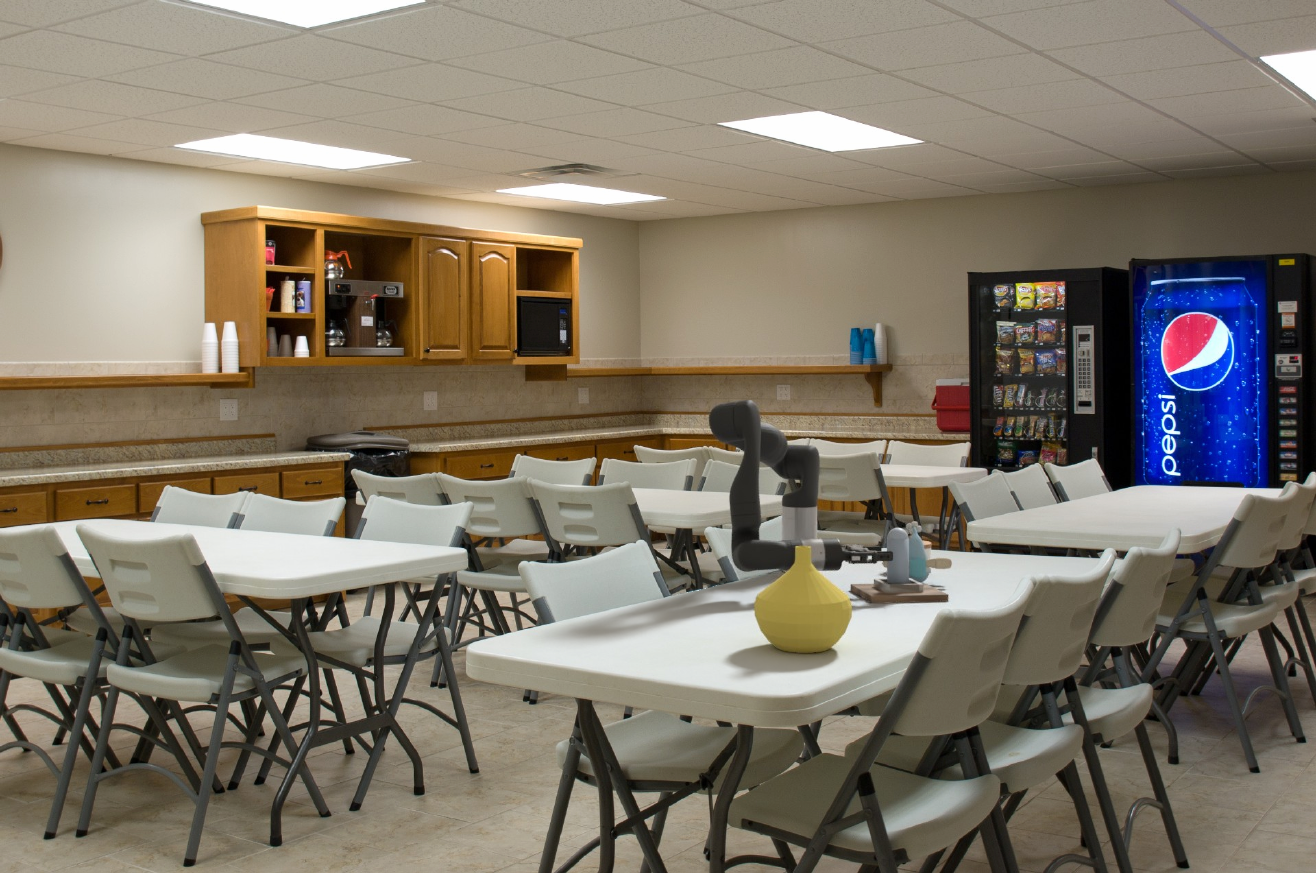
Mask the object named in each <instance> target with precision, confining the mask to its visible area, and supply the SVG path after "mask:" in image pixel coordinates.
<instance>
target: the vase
mask: <svg viewBox="0 0 1316 873" xmlns="http://www.w3.org/2000/svg"><path fill="white" fill-rule="evenodd" d="M753 604H754V617H755V620H756V622H757V624H758V627H759V630H760V632H761V633H762V634H763V636H764V637H765V639H766V640H767V641H768V642H770V643H771V645H773V646H774V647H775V648H777V649H778V650H780V651H783V652H787V653H788V652H789V653H795V652H796V654H814V652H816V653H821V652H825V651H828V650H830V649H831V648H833V646H835V645H836V644H837V643H838V642H839V641H840V640H841V638H842V637H843V636H844V635H845V634H846V632H847V629H848V626H849V624H850V622H851V619H852V617H853V616H852V615H853V614H852V613H853V604H852V601H851V599H850V596H849V595H848V594H847V593H846V592H844V591H843V590H842V589H840V588H839V587H838V586H837V585H835V584H834V583H833V582H831V581H830V580H829V578H827V577H825V575H823V574H822V573H821V571H817V570H816V568H815V567H814V566H813V564H812V562H811V547H810V546H796V547H795V563H794V564H793V566H792V567H791V568H790V569H789V570H788V571H787V572H784V573H783V574H782V575H781V576H780V577H778V578H777V579H776V580H775V581H773V582H772V583H771V584H769V585H768V586H766V587H765V588H764V589H763V590H762V591H760V592H759V593H758V594H757V595H756V598H755V600H754V603H753Z"/></svg>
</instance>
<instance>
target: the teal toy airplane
mask: <svg viewBox="0 0 1316 873" xmlns="http://www.w3.org/2000/svg"><path fill="white" fill-rule="evenodd" d="M905 528H906V530H907V531H908V532H909V534H910V536H911V537H910V539H909V578H911V579H913V580H916V581H918V582H920V583H924V582H925V581H926V580H927V579H928V578H929V575H930V574H931V573H932V569H936V570H946V569H948V570H949V569H951V568H952V565H953V563H952V559H951V558H948V557H947V558H946V557H936V558H935V557H934V558H930V559H928V558H927V556H926V553H925V548H924V544H923V541H924V540H922V537H921V536H919V534H918V533H921V532H922V531H923V528H922V526H921V525H919V523H918V521H911V522H909V523H908V522H907V524H906V525H905ZM881 565H882V566H883V567H884V568H886V569H887V561H881Z"/></svg>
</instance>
